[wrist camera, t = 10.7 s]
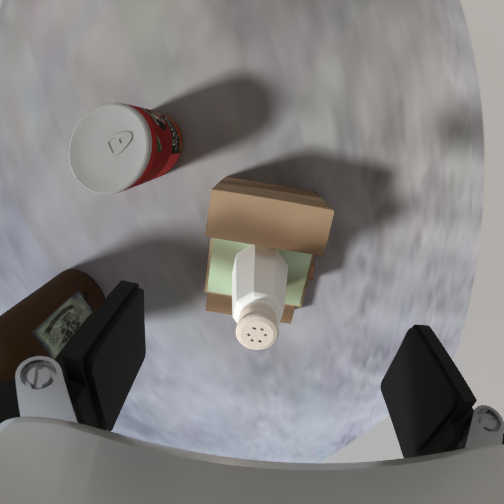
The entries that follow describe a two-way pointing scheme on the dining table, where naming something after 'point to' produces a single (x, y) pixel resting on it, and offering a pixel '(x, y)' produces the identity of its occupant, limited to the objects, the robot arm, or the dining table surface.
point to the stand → (264, 235)
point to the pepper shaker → (258, 295)
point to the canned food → (122, 147)
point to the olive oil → (46, 320)
